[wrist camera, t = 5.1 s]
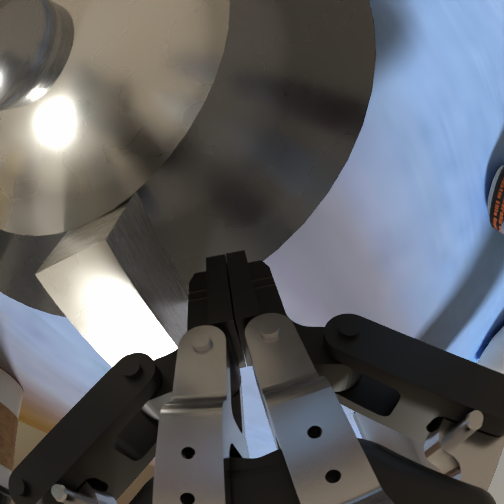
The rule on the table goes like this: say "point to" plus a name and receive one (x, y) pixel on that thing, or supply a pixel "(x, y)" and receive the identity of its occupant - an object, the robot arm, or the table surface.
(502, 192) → the beverage can
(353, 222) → the table surface
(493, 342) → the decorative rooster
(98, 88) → the flange plate
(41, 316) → the table surface
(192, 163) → the post base
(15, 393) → the coffee cup
